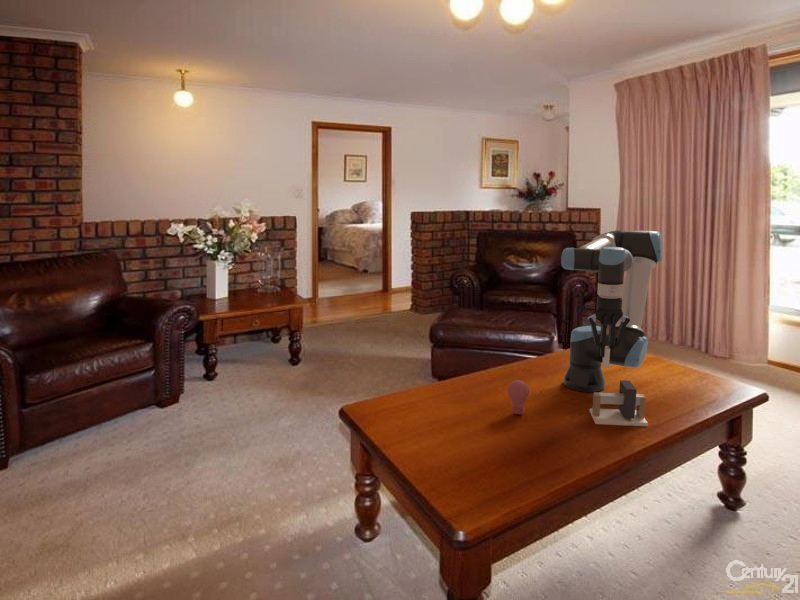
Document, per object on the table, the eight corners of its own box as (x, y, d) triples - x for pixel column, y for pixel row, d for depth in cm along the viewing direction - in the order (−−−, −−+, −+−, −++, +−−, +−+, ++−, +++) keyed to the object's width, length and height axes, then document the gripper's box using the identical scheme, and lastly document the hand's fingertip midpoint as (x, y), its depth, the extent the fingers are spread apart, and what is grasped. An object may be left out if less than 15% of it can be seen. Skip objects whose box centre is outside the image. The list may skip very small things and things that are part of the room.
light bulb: (504, 410, 183) (505, 377, 181) (524, 409, 184) (525, 376, 181) (510, 418, 176) (511, 385, 174) (531, 417, 177) (532, 384, 174)
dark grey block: (624, 418, 171) (626, 389, 169) (618, 408, 178) (620, 380, 176) (634, 418, 170) (636, 389, 168) (627, 408, 178) (629, 380, 176)
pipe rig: (595, 424, 171) (597, 398, 170) (589, 411, 181) (590, 387, 179) (647, 426, 169) (649, 400, 167) (638, 413, 179) (640, 389, 177)
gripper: (590, 298, 165) (587, 369, 170) (634, 298, 163) (629, 370, 168) (586, 293, 172) (582, 362, 177) (628, 293, 170) (623, 362, 175)
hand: (605, 366), depth 173 cm, fingers closed
